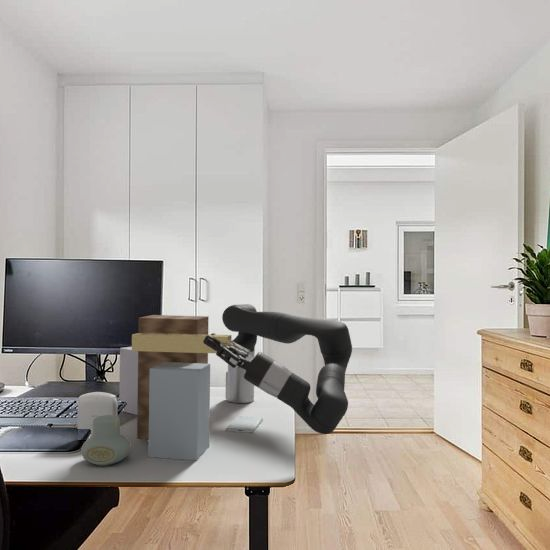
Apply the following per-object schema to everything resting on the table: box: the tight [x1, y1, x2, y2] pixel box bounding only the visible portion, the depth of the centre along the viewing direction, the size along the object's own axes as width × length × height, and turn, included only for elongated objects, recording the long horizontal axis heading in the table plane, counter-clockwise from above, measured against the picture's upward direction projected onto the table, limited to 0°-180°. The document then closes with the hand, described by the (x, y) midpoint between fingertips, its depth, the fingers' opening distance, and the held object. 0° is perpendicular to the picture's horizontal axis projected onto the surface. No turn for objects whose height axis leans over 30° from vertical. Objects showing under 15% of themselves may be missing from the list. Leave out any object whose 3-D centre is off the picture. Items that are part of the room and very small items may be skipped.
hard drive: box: [225, 415, 264, 434], centre depth 151 cm, size 2×8×12 cm
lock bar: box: [131, 333, 232, 354], centre depth 128 cm, size 24×4×4 cm, turn 81°
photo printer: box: [76, 391, 118, 437], centre depth 136 cm, size 10×4×12 cm, turn 90°
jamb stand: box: [136, 314, 209, 442], centre depth 140 cm, size 16×10×32 cm, turn 81°
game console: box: [118, 346, 138, 416], centre depth 159 cm, size 6×27×20 cm, turn 53°
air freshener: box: [80, 415, 132, 467], centre depth 121 cm, size 11×8×10 cm
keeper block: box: [148, 362, 211, 461], centre depth 128 cm, size 12×10×21 cm
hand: (208, 337), depth 127 cm, fingers closed on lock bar, 4 cm apart
